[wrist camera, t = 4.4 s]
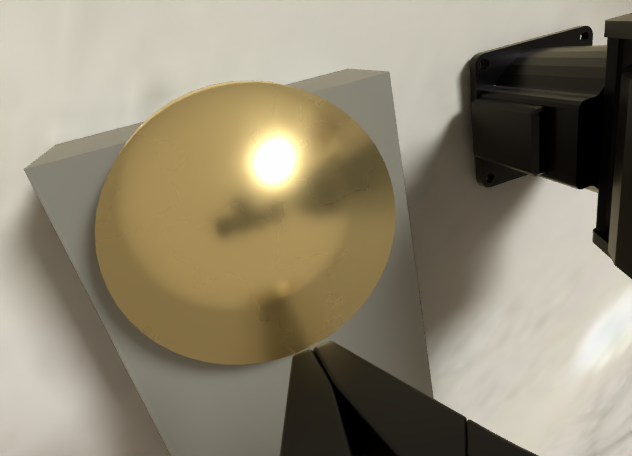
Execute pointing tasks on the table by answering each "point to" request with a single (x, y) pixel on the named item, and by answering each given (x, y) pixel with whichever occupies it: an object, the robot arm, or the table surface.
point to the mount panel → (251, 379)
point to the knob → (244, 222)
